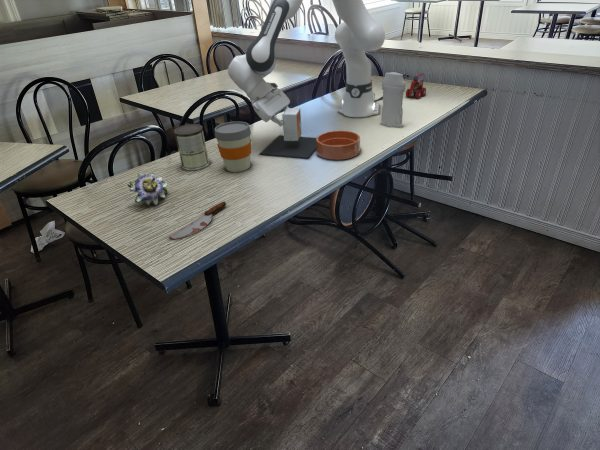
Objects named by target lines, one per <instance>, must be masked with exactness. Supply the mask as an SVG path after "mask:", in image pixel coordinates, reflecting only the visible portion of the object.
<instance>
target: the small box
mask: <svg viewBox="0 0 600 450" xmlns="http://www.w3.org/2000/svg"><path fill="white" fill-rule="evenodd" d="M301 115H302V114H301V108H299V107H289V108H287V109H286V110H285V112H284V111H283V113H282V114H281V117H282V118H281V119H282V120H283V122H284V124H283V125H282V130H283V131H282V132H283V133H282V134H283V136H284V141H298V139H299V137H302V116H301Z"/></svg>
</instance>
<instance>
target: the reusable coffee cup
mask: <svg viewBox="0 0 600 450" xmlns="http://www.w3.org/2000/svg"><path fill="white" fill-rule="evenodd" d="M251 135H252V132H251V126H250V124H249V123H248V122H245V121H227V122H223V123H221V124H218V125H217V126H215V128H214V137H215V140H216V141H217V149H218V151H219V154H220V157H221V158H222V160H223V165H224V167H225V169H226V171H228V172H231V173H240V172H244V171H246V170H248V169H249V168H251V154H252V139H251Z"/></svg>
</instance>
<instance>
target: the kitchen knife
mask: <svg viewBox="0 0 600 450" xmlns="http://www.w3.org/2000/svg"><path fill="white" fill-rule="evenodd" d="M225 206H227V202H226V201H221V202H219V203H217V204H215V205H213V206H212V207H210V208H209V209H208V210H205V211H204V214H203V215H201V216H199V217H198V218H196V219H195V220H193V221H192V222H190V223H189V224H187V225H185V226H184V227H182V228H181V229H179V230H178V231H176V232H175V233H173V234H171V235H170V236H169V238H170V239H172V240H177V239H183V238H186V237H189V236H192V235H194V234H196V233H198V232H200V231H202V230H203V229H204V228H205V227H207V226H208V225H209V224H210V223H211V222H212V219H213V215H214V214H217V213H218V212H219V211H220V210H222V209H223V208H224V207H225Z"/></svg>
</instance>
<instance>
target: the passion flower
mask: <svg viewBox="0 0 600 450" xmlns="http://www.w3.org/2000/svg"><path fill="white" fill-rule="evenodd" d="M128 183H129V184H128ZM128 183H127V187H128V188H129V191H130V192H133V193H137V195H136V197H135V199H134V202H135V203H140V202H141V201H142V200H143V202H144V203H145V204H146V205H147V206H150V204H153V205H154V206H158V204H159V198H166V194H168V182H165V181H164V180H163V177H161V176H159V177H155V171H151V172H150V173H149V174H148V175H147V174H146V173H143V172H142V171H138V173H137V177H136V179H135V180H130V181H129V182H128Z"/></svg>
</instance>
